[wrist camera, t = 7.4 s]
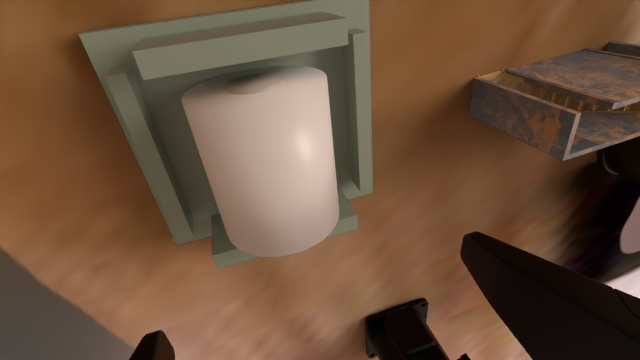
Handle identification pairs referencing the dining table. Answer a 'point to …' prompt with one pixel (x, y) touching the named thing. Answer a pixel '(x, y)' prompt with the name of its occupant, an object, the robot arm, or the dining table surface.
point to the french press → (622, 159)
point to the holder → (222, 58)
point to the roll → (268, 156)
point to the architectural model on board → (565, 100)
